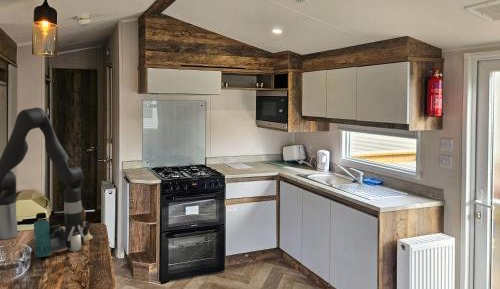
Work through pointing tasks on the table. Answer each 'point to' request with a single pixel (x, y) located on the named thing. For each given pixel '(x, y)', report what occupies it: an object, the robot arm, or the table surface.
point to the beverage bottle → (42, 236)
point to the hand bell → (88, 236)
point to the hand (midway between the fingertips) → (75, 246)
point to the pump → (75, 241)
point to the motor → (56, 239)
